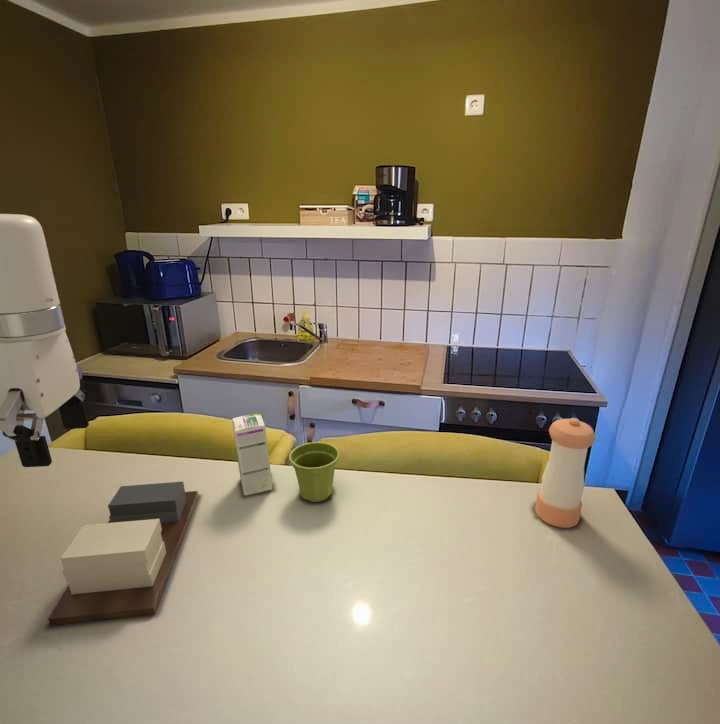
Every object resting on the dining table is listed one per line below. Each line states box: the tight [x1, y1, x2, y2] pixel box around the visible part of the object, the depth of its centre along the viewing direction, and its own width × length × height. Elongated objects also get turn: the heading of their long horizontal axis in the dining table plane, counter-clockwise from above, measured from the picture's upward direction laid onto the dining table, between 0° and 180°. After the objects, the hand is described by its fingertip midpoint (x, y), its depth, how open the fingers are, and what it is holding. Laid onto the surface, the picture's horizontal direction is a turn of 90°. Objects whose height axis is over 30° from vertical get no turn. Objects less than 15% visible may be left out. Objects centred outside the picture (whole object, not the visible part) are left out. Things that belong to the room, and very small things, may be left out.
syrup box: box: [231, 413, 273, 496], centre depth 83 cm, size 6×6×14 cm
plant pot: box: [288, 441, 340, 503], centre depth 82 cm, size 9×9×9 cm
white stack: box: [62, 533, 166, 594], centre depth 63 cm, size 11×7×4 cm, turn 97°
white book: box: [60, 519, 162, 570], centre depth 62 cm, size 11×7×2 cm, turn 97°
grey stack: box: [107, 481, 186, 523], centre depth 75 cm, size 11×5×5 cm, turn 97°
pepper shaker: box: [534, 417, 596, 529], centre depth 74 cm, size 7×7×19 cm
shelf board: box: [47, 490, 199, 626], centre depth 70 cm, size 14×26×1 cm, turn 7°
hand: (58, 445), depth 58 cm, fingers open, 9 cm apart
